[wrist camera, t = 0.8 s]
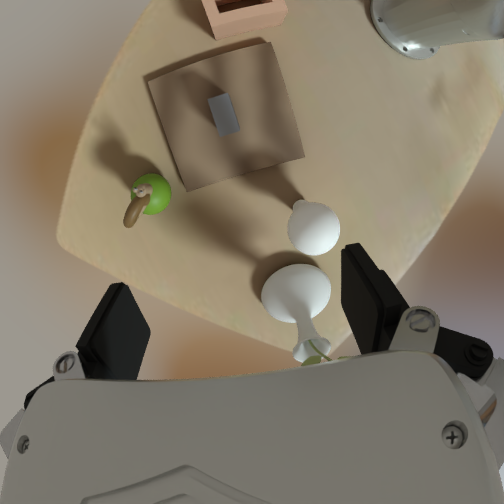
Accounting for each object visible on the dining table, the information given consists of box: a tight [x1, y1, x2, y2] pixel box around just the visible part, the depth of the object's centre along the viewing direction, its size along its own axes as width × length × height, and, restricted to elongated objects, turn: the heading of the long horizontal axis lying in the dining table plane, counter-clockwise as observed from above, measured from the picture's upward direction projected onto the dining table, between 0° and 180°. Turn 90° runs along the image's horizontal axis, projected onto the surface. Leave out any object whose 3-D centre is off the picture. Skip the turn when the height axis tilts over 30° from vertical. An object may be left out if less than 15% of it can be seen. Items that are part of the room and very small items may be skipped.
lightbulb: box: [288, 200, 340, 255], centre depth 34 cm, size 6×6×11 cm
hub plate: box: [148, 42, 305, 192], centre depth 29 cm, size 16×16×7 cm
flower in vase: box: [261, 264, 353, 366], centre depth 34 cm, size 13×11×25 cm
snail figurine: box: [123, 173, 171, 228], centre depth 31 cm, size 5×6×12 cm
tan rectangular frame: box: [202, 0, 288, 40], centre depth 22 cm, size 7×9×6 cm
